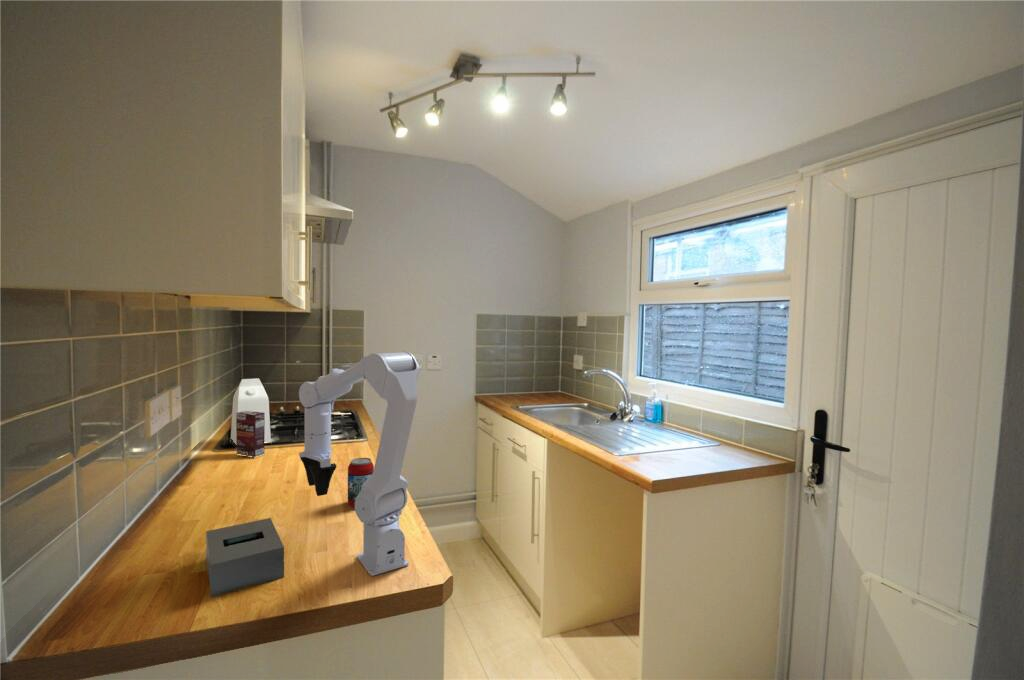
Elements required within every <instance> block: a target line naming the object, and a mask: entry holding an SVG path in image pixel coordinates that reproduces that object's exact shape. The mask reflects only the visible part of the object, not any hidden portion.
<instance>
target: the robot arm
mask: <svg viewBox="0 0 1024 680" xmlns="http://www.w3.org/2000/svg"><path fill="white" fill-rule="evenodd" d="M420 370H421V366H420V365H419V363H418V361H417V359H416V357H415V356H414V355H413V353H411V352H410V351H405V350H403V351H401V352H386V353H377V352H374V353H370V354H369V355H365V356H363V357H362V358H361V360H360V361H358V362H357V363H355V364H353V365H351V366H350V367H349V368H347V369H346V370H344V369H340V368H338V367H337V368H331V369H329V373H327V374H325V375H321V376H319V377H317V379H316V380H315V381H304V382H303V383H302V384H301V385H300V387H299V389H298V396H299V397H298V398H299V402H300V403H301V405H302V406H303V407H304V451H301V452H298V457H299V458H300V461H301V462H302V464H303V467H304V469H305V474H306V479H307V483H308V486H309V487H311V486H314V488H315V489H314V490H315V493H316V496H317V497H321V496H325V495H328V491H329V489H330V488H329V487H330V484H331V480H332V477H333V474H334V472H335V470H336V469H337V464H336V463H331V462H332V461H331V456H332V453H333V451H332V412H333V411H334V404H335V402H336V400H337V399H338V398H341V397H342V396H344V395H345V394H348V393H350V391H352V390H353V388H354V387H353V385H354V384H357V383H360V382H362V381H363V380H366V381H367V382H368V384H369V385H370V387H372V388H373V390H374V391H375V392H376V394H378V395H379V397H380V398H381V399H384V400H385V401H386V403H387V406H386V412H385V415H384V420H383V425H382V430H381V434H380V440H379V444H378V448H377V453H376V457H375V461H374V471H373V474H372V475H371V476H370V477H369V478H368V479H367V480H366V481H365V482H364V483H363V485H362V487H361V491H360V493H359V494H358V496H357V497H356V499H355V507H354V512H355V514H356V517H357V518H358V520H360V522H361V523H363V534H362V535H363V538H362V539H363V545H362V546H363V547H362V548H363V549H362V550H363V551H362V552H360V553H357V554H356V558H357V559H358V560H359V562H360V563H361V564H362V565H363V567H364V569H365V570H366V571H367V572H368V574H369V575H370V576H372V577H373V576H377V575H380V574H383V573H386V572H389V571H390V572H391V571H393V570H396V569H399V568H402V567H406V566H408V565H409V564H410V562H409V561H408V560H407V559H406V558H405V554H406V553H405V548H406V547H405V546H406V544H405V543H406V539H405V534H404V532H403V530H402V529H401V527H400V517H401V516H402V513H403V512H402V510H403V509H404V508H405V507H406V505H407V503H408V493H407V490H408V489H407V488H408V483H409V482H408V481H407V480H406V478H405V477H404V476H403V475H401V474H402V470H403V464H404V459H405V455H406V453H407V452H406V450H407V448H408V447H407V446H408V442H409V438H410V434H411V430H412V426H413V425H412V424H413V422H414V416H415V412H416V411H415V410H416V406H417V402H418V387H417V385H418V379H419V375H420Z"/></svg>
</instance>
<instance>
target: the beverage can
mask: <svg viewBox="0 0 1024 680" xmlns="http://www.w3.org/2000/svg"><path fill="white" fill-rule="evenodd" d="M374 466H375V464H373V462H372V459H371V458H369V457H357V458H353V459H351V460H350V462H349V465H348V466H347V504H348V505H350V506H352V507H353V508H355V499H356V497H357V496H358V494H359V493H360V491H361V487H362V485H363V483H364V482H365V481H366V480H367V479H368V478H369V477H370V476H371V475H372V474H373V471H374Z"/></svg>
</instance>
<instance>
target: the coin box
mask: <svg viewBox="0 0 1024 680" xmlns="http://www.w3.org/2000/svg"><path fill="white" fill-rule="evenodd" d="M205 532H206V533H205V541H206V542H205V544H206V545H205V553H206V554H205V555H206V556H205V559H206V560H207V561H206V567H207V568H208V569H207V575H209V576H208V580H209V581H208V583H210V584H209V591H211V592H210V598H213V597H217V596H218V597H219V596H222V595H225V594H227V593H231V592H235V590H236V591H239V589H240V590H243V589H246V588H245V587H247V588H249V586H250V587H254V586H258V585H260V584H264V582H265V583H268V582H271V581H275V580H279V579H283V578H285V546H284V545H283V542H282V540H281V538H280V537H281V536H280V535H279V534H278V531H277V529H276V527H275V525H274V523H273V521H272V518H271V517H269V518H263V519H259V520H254V521H249V522H245V523H241V524H234V525H230V526H226V527H221V528H216V529H212V530H206V531H205ZM239 543H240V544H239ZM235 544H236V545H235ZM230 545H231V546H230ZM253 585H254V586H253ZM242 588H243V589H242Z"/></svg>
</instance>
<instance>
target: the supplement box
mask: <svg viewBox="0 0 1024 680" xmlns="http://www.w3.org/2000/svg"><path fill="white" fill-rule="evenodd" d="M264 432H265V413H263V412H253V411H243V412H239V413H236V442H237V443H236V444H237V450H236V455H237V454H241V455H246V456H252V457H256V456H260V455H263V454H264V455H265V446H264V434H265V433H264ZM264 455H263V456H264Z"/></svg>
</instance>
